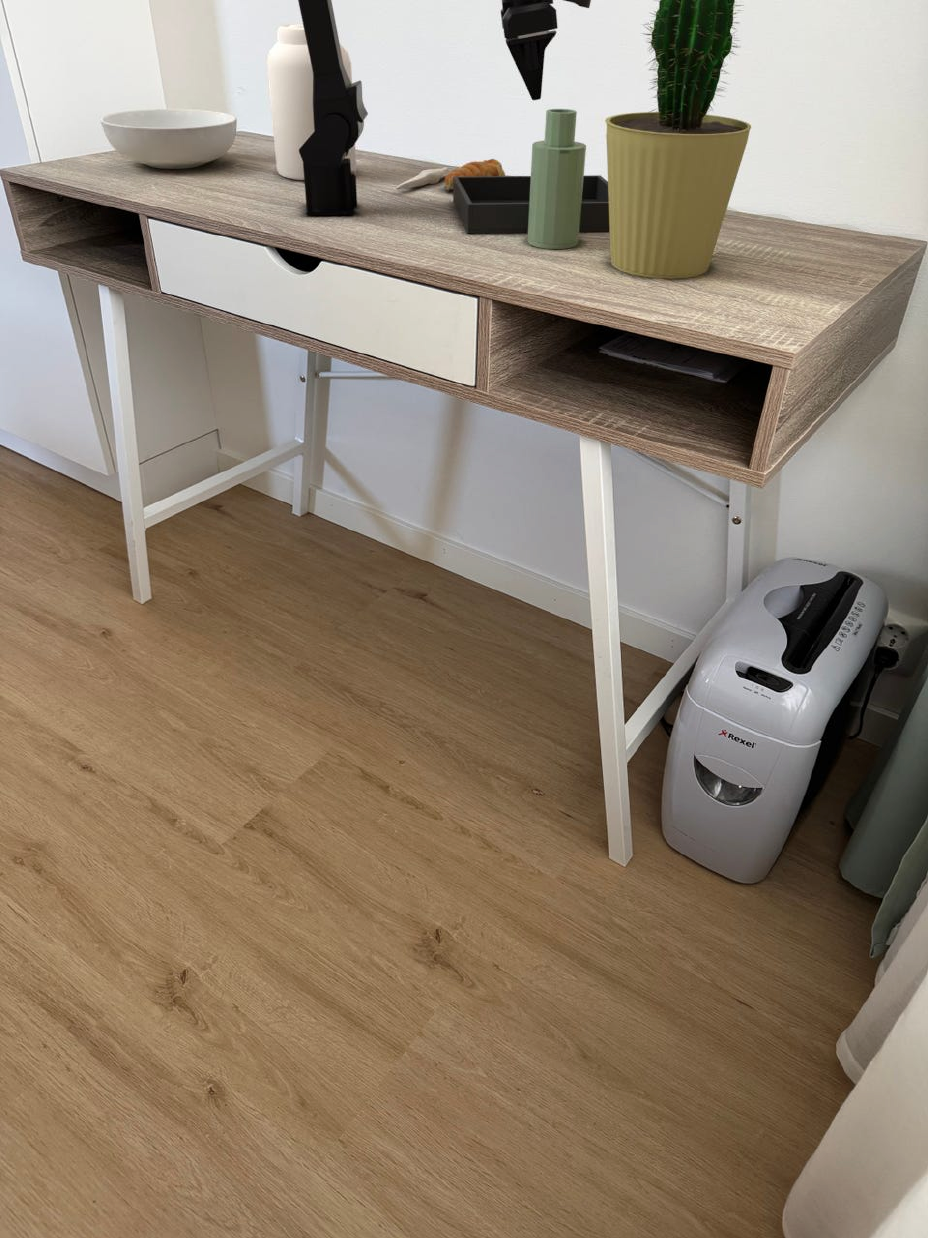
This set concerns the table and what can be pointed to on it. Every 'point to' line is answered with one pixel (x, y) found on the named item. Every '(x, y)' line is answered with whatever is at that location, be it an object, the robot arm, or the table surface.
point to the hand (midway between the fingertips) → (534, 94)
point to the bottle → (556, 183)
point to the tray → (520, 204)
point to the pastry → (475, 171)
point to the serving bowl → (170, 136)
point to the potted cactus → (676, 149)
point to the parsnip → (424, 178)
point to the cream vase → (294, 98)
